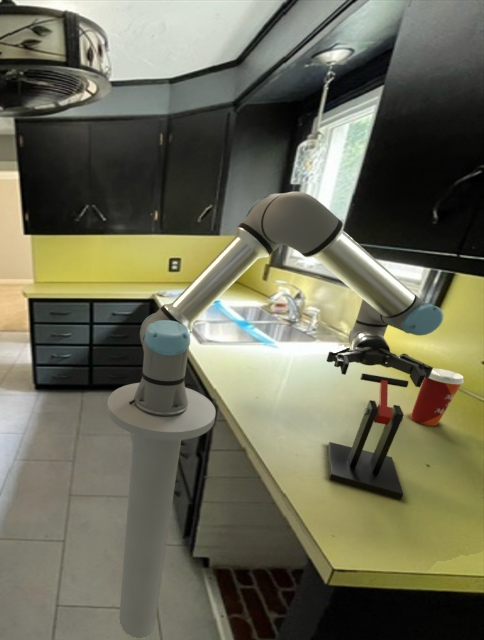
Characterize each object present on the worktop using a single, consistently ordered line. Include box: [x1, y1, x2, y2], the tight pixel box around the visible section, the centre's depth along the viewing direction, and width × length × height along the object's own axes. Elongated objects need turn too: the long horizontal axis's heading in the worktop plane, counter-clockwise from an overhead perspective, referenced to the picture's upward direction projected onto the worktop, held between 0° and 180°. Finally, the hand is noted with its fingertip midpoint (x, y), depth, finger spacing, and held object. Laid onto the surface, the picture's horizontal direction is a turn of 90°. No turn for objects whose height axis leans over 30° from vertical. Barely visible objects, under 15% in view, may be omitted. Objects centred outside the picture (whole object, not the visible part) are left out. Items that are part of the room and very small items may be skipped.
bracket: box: [327, 399, 405, 501], centre depth 76 cm, size 14×12×16 cm
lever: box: [360, 373, 410, 426], centre depth 76 cm, size 12×8×2 cm, turn 150°
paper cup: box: [410, 368, 465, 427], centre depth 96 cm, size 8×8×14 cm
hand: (381, 375), depth 82 cm, fingers open, 13 cm apart
